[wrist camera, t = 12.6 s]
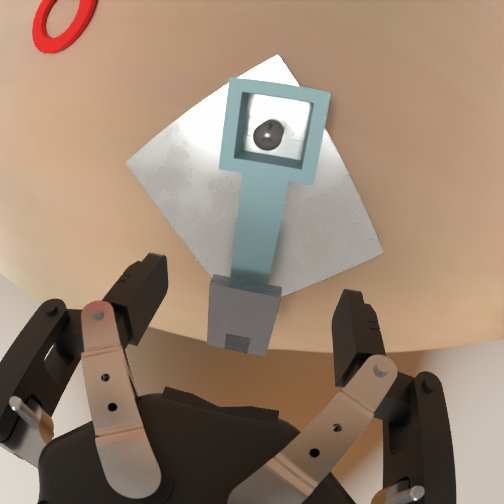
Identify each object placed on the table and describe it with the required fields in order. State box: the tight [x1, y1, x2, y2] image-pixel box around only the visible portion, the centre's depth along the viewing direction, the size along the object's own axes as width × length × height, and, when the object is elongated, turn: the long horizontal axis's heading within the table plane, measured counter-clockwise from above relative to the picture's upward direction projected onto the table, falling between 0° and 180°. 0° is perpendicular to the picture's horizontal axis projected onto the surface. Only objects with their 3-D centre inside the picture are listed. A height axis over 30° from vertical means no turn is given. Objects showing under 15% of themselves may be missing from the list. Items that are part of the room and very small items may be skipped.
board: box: [126, 55, 384, 297], centre depth 22 cm, size 15×18×1 cm
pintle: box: [253, 116, 285, 151], centre depth 16 cm, size 1×1×7 cm
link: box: [219, 77, 331, 284], centre depth 20 cm, size 17×6×3 cm, turn 172°
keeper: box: [207, 274, 282, 356], centre depth 24 cm, size 7×5×6 cm
